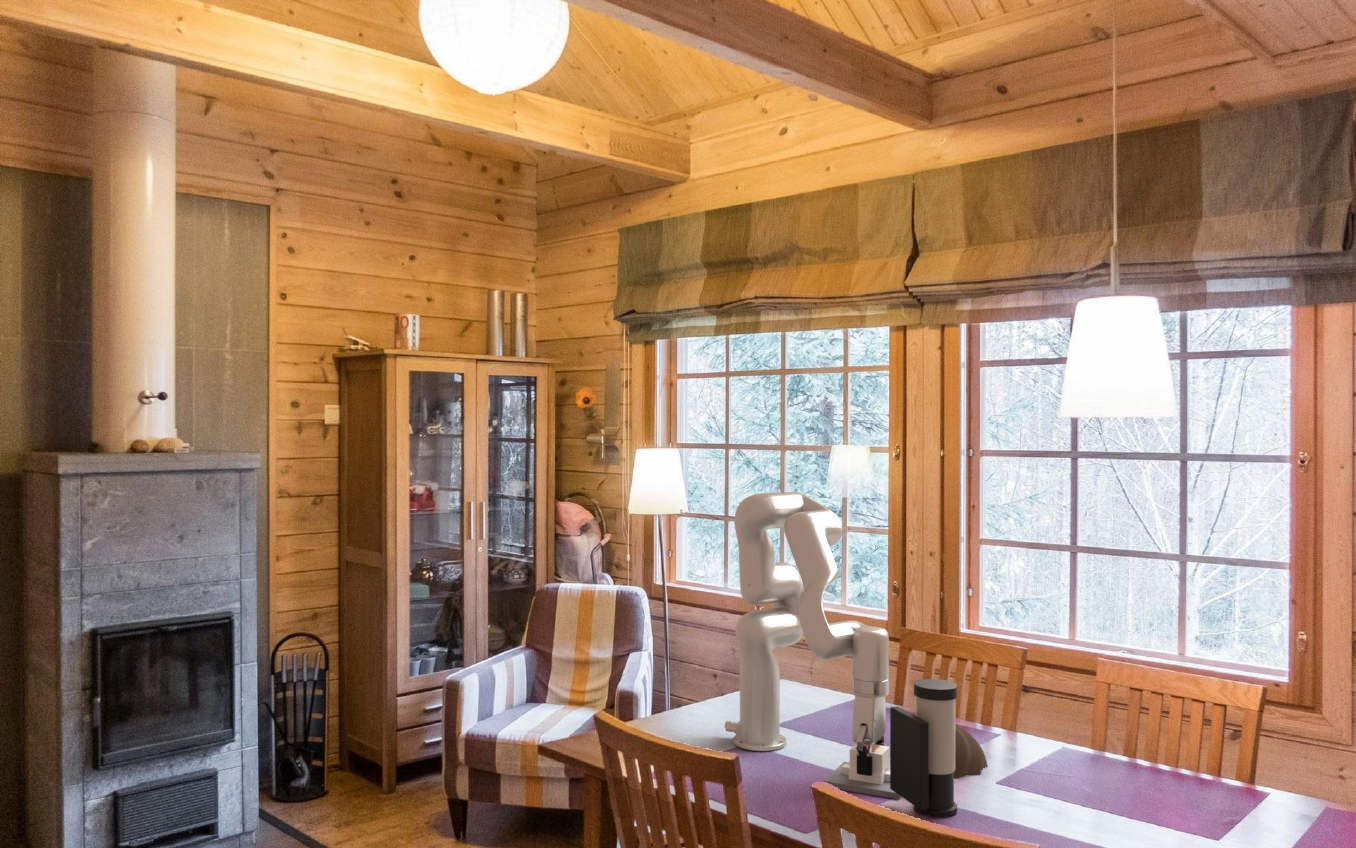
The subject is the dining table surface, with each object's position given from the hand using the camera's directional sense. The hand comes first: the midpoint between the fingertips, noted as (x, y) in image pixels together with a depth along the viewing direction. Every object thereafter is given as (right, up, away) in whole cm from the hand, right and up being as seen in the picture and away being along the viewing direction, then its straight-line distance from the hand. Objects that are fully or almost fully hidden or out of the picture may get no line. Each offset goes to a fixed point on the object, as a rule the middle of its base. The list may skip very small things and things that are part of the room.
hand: (870, 768), depth 215 cm
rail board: (0, -3, 0) cm, 3 cm away
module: (0, -2, 0) cm, 2 cm away
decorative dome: (+18, -4, +13) cm, 23 cm away
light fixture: (+9, -3, -16) cm, 18 cm away
